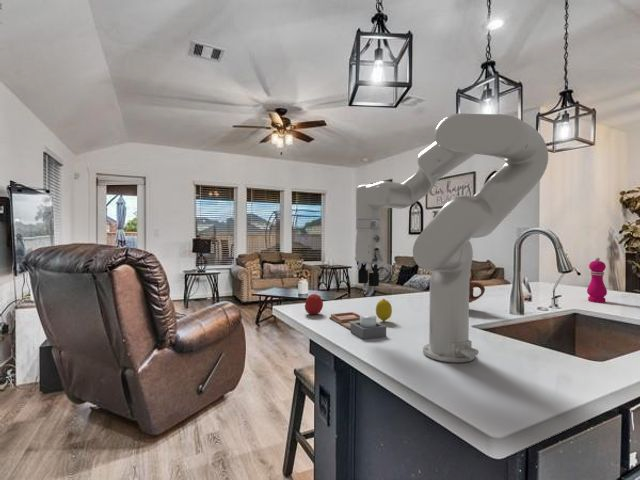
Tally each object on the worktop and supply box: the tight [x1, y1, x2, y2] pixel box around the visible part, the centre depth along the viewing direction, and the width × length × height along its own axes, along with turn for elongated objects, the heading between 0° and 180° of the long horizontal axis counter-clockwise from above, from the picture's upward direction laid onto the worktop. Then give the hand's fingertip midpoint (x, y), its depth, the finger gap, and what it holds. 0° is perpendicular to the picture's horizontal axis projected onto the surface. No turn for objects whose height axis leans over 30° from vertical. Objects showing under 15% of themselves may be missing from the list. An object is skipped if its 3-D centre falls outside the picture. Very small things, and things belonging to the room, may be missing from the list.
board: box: [329, 311, 362, 331], centre depth 126 cm, size 19×10×2 cm, turn 22°
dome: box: [360, 314, 377, 328], centre depth 112 cm, size 5×5×4 cm
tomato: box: [303, 293, 324, 316], centre depth 140 cm, size 8×8×8 cm
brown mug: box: [469, 276, 486, 304], centre depth 148 cm, size 20×12×14 cm, turn 53°
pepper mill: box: [586, 256, 608, 304], centre depth 165 cm, size 7×7×20 cm
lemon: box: [375, 298, 393, 323], centre depth 128 cm, size 6×6×8 cm
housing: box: [350, 321, 387, 340], centre depth 112 cm, size 8×8×3 cm
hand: (368, 283), depth 112 cm, fingers open, 5 cm apart
